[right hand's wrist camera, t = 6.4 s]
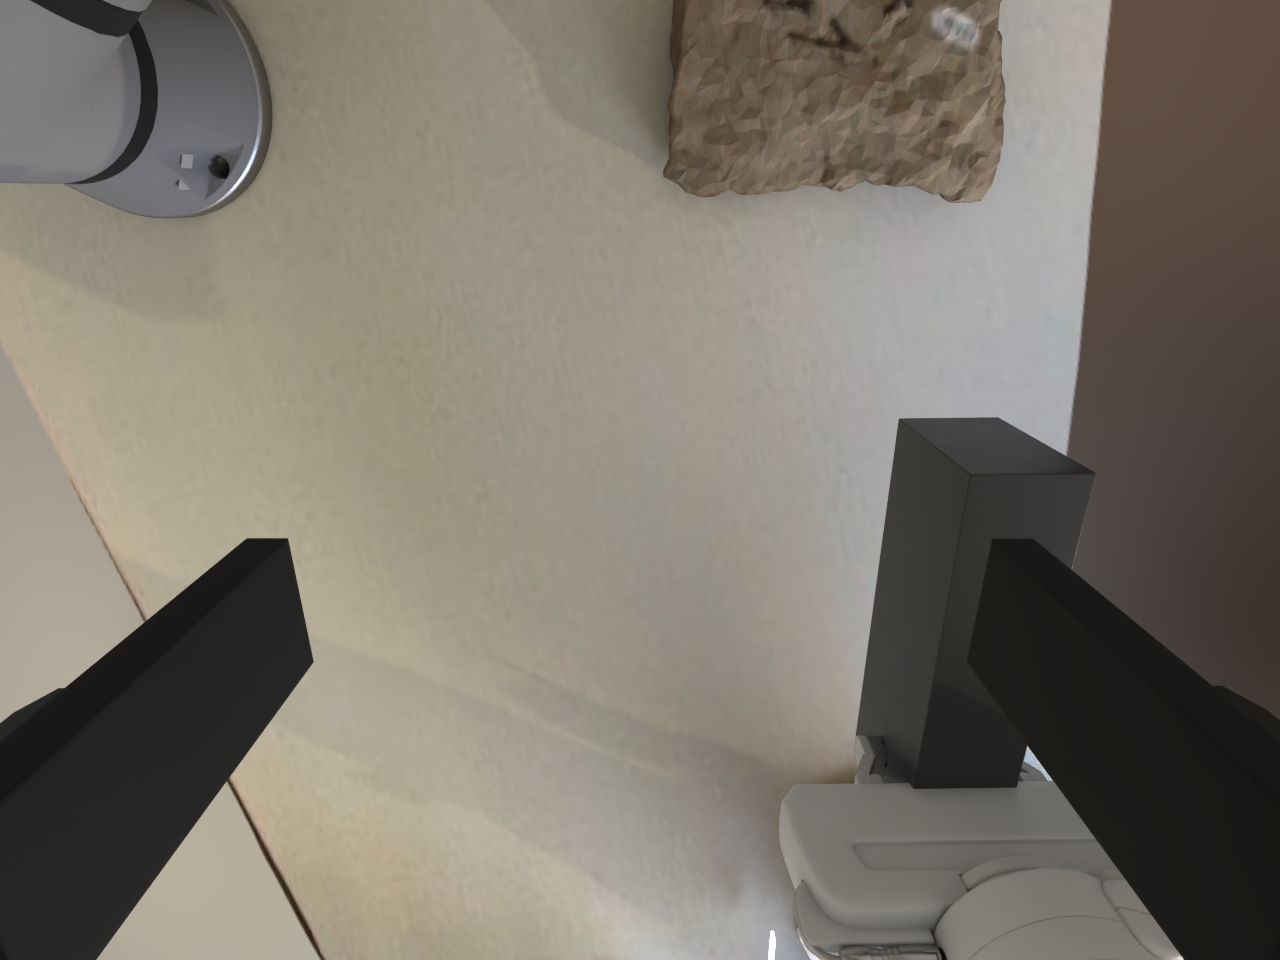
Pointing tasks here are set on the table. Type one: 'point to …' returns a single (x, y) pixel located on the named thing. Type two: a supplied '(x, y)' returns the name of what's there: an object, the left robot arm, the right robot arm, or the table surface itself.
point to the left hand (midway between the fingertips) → (922, 742)
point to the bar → (955, 592)
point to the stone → (836, 95)
